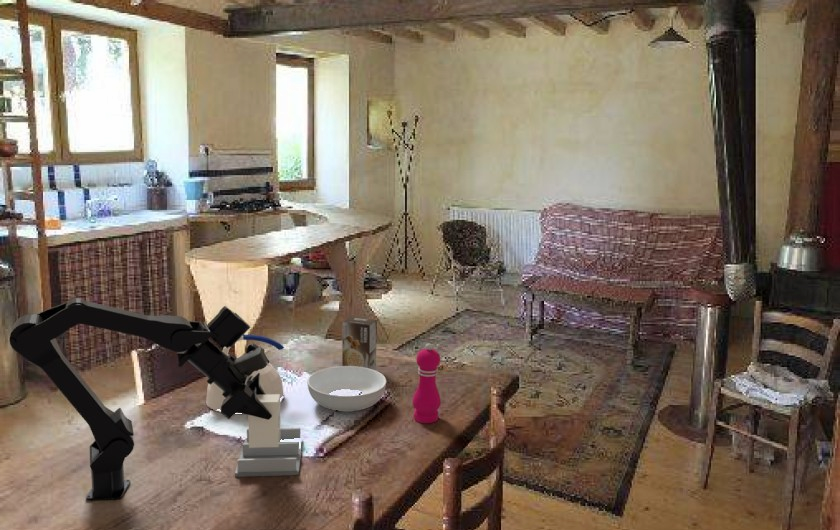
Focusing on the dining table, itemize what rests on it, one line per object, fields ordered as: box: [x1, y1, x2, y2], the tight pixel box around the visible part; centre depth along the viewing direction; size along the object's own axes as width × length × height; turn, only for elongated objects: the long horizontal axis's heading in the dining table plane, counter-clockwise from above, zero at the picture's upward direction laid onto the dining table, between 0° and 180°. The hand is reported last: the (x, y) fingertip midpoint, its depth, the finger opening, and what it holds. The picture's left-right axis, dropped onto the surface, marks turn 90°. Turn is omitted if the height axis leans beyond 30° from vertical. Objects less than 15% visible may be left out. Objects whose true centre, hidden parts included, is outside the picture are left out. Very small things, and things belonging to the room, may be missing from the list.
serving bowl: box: [306, 365, 387, 412], centre depth 173 cm, size 21×21×7 cm
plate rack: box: [234, 427, 302, 478], centre depth 143 cm, size 15×13×4 cm
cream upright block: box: [247, 394, 281, 448], centre depth 136 cm, size 4×6×10 cm, turn 96°
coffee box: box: [341, 316, 378, 371], centre depth 196 cm, size 9×6×16 cm
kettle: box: [205, 334, 285, 411], centre depth 172 cm, size 20×21×18 cm
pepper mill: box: [412, 342, 442, 424], centre depth 164 cm, size 7×7×20 cm
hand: (271, 413), depth 136 cm, fingers closed on cream upright block, 4 cm apart
